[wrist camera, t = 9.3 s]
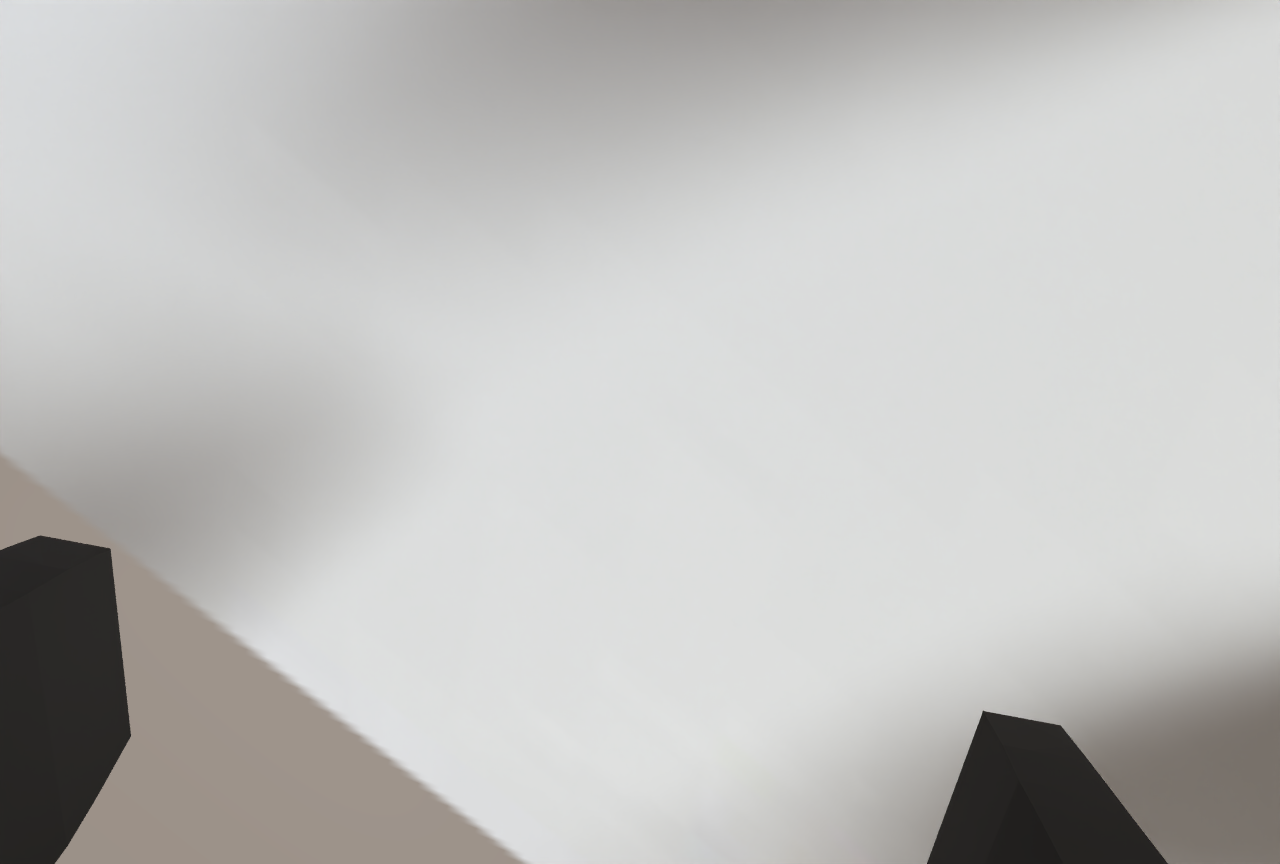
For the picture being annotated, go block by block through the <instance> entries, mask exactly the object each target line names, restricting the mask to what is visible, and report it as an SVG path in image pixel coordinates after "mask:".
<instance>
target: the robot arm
mask: <svg viewBox="0 0 1280 864" xmlns="http://www.w3.org/2000/svg"><path fill="white" fill-rule="evenodd" d="M130 737H131V733H130V724H129V714H128V705H127V696H126V686H125V677H124V669H123V659H122V651H121V641H120V632H119V623H118V613H117V605H116V596H115V586H114V577H113V569H112V559H111V549H110V548H104V547H99V546H94V545H88V544H82V543H78V542H72V541H66V540H61V539H56V538H51V537H45V536H37V537H35V538H32V539H29V540H26V541H24V542H21V543H18V544H15V545H13V546H10V547H7V548H5V549H3V550H0V864H55V862H56V861H57V860H58V858H59V857H60V855H61V854H62V853H63V851H64V850H65V849H66V847H67V846H68V844H69V843H70V841H71V839H72V838H73V836H74V834H75V833H76V831H77V829H78V827H79V826H80V824H81V822H82V821H83V819H84V818H85V816H86V814H87V813H88V811H89V809H90V808H91V806H92V804H93V803H94V801H95V799H96V797H97V796H98V794H99V792H100V790H101V789H102V787H103V785H104V783H105V782H106V780H107V778H108V776H109V774H110V773H111V770H112V769H113V767H114V765H115V764H116V762H117V760H118V758H119V756H120V755H121V753H122V751H123V749H124V747H125V746H126V744H127V742H128V740H129V739H130ZM927 864H1168V863H1167V862H1166V861H1165V859H1164V858H1163V857H1162V855H1161V854H1160V853H1159V852H1158V850H1157V849H1156V848H1155V846H1154V845H1153V844H1152V843H1151V841H1150V840H1149V839H1148V837H1147V836H1146V835H1145V833H1144V832H1143V831H1142V830H1141V828H1140V827H1139V826H1138V824H1137V823H1136V822H1135V821H1134V819H1133V818H1132V817H1131V815H1130V814H1129V813H1128V811H1127V810H1126V809H1125V807H1124V806H1123V805H1122V804H1121V802H1120V801H1119V800H1118V798H1117V797H1116V796H1115V794H1114V793H1113V792H1112V790H1111V789H1110V788H1109V787H1108V785H1107V784H1106V783H1105V781H1104V780H1103V779H1102V777H1101V776H1100V775H1099V774H1098V772H1097V771H1096V770H1095V768H1094V767H1093V766H1092V764H1091V763H1090V762H1089V761H1088V759H1087V758H1086V757H1085V755H1084V754H1083V753H1082V752H1081V750H1080V749H1079V748H1078V747H1077V745H1076V744H1075V743H1074V742H1073V740H1072V739H1071V738H1070V737H1069V735H1068V734H1067V733H1066V732H1065V730H1064V729H1063V728H1062V727H1061V726H1060V725H1055V724H1050V723H1044V722H1039V721H1034V720H1028V719H1023V718H1018V717H1012V716H1007V715H1001V714H996V713H991V712H985V711H983V713H982V716H981V718H980V721H979V724H978V727H977V729H976V732H975V735H974V737H973V740H972V743H971V746H970V748H969V751H968V754H967V756H966V759H965V762H964V765H963V767H962V770H961V773H960V775H959V778H958V781H957V784H956V786H955V789H954V792H953V794H952V797H951V800H950V803H949V805H948V808H947V811H946V813H945V816H944V819H943V822H942V824H941V827H940V830H939V832H938V835H937V838H936V841H935V843H934V846H933V849H932V851H931V854H930V857H929V860H928V862H927Z"/></svg>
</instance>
